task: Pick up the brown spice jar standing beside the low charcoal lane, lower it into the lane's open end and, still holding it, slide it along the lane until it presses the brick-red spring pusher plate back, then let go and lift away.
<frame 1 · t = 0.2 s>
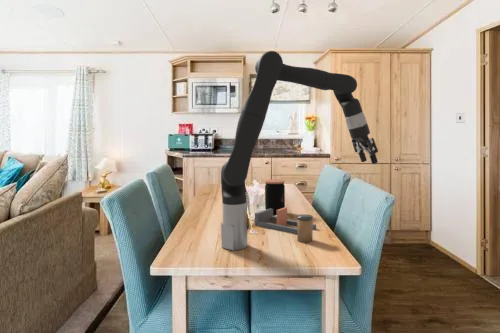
hand: (369, 162, 131), 31 cm above the table, tool tilted 20°, fingers open, 8 cm apart
coffee jar: (275, 213, 175), on the table
pusher plate: (279, 216, 150), point 4 cm above the table, slide at 0.0 cm
spice jar: (304, 240, 129), on the table
lane: (284, 227, 148), on the table
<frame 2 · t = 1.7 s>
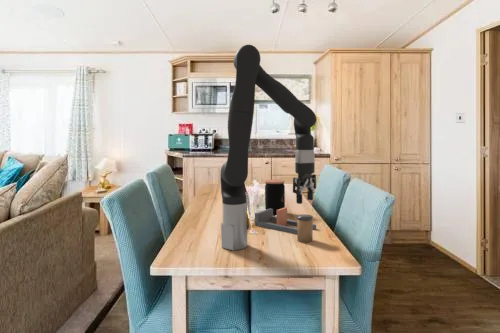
hand: (304, 201, 128), 16 cm above the table, tool pointing down, fingers open, 8 cm apart
nothing on the table moved.
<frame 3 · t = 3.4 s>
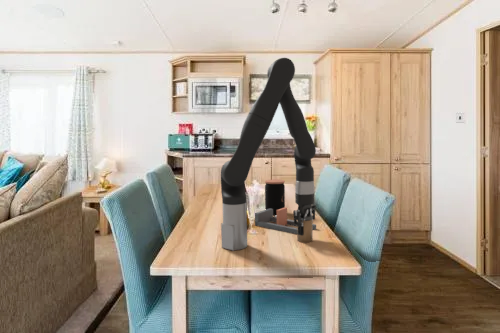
hand: (304, 232, 129), 3 cm above the table, tool pointing down, fingers closed on spice jar, 6 cm apart
spice jar: (304, 240, 129), on the table, touching gripper
everything else where it was.
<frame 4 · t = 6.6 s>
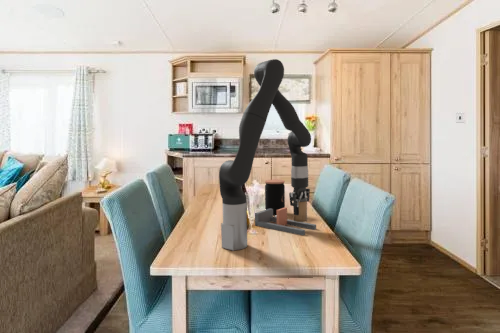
hand: (300, 213, 143), 8 cm above the table, tool pointing down, fingers closed on spice jar, 6 cm apart
spice jar: (300, 220, 143), point 5 cm above the table, touching gripper
everything else where it was.
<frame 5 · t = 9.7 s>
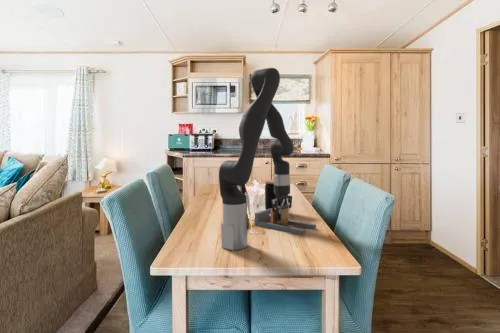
hand: (282, 219, 149), 4 cm above the table, tool pointing down, fingers closed on spice jar, 6 cm apart
pusher plate: (273, 215, 152), point 4 cm above the table, slide at 3.4 cm, touching spice jar
spice jar: (282, 226, 149), resting in lane, touching gripper, pusher plate
everything else where it was.
when the fingers open (4 cm above the table, at t = 10.0 s): spice jar stays where it is, resting in lane.
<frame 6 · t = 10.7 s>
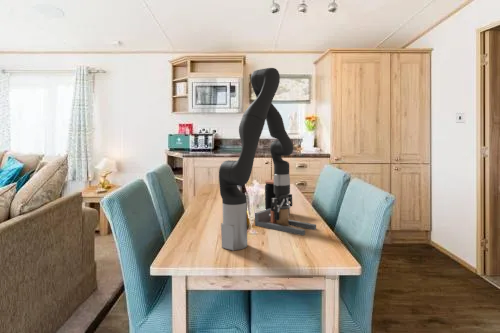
hand: (282, 217, 149), 4 cm above the table, tool pointing down, fingers open, 8 cm apart
pusher plate: (273, 215, 152), point 4 cm above the table, slide at 3.4 cm
spice jar: (282, 226, 149), resting in lane
everything else where it was.
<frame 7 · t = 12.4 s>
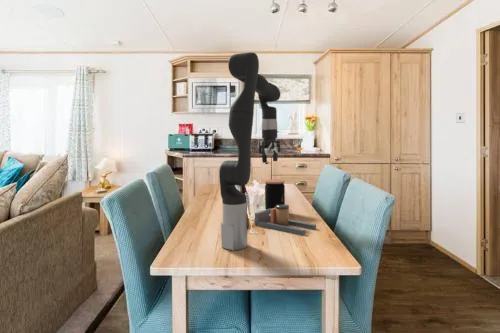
hand: (270, 161, 157), 30 cm above the table, tool pointing down, fingers open, 8 cm apart
nothing on the table moved.
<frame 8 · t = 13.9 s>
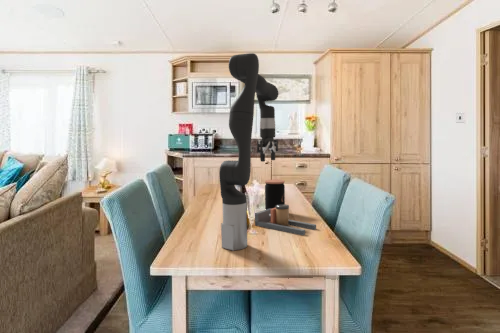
hand: (268, 160, 158), 30 cm above the table, tool pointing down, fingers open, 8 cm apart
nothing on the table moved.
at the end: spice jar inside the target area (1.1 cm from its centre), resting in lane; spice jar tilted 0°; pusher plate slide at 3.4 cm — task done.
